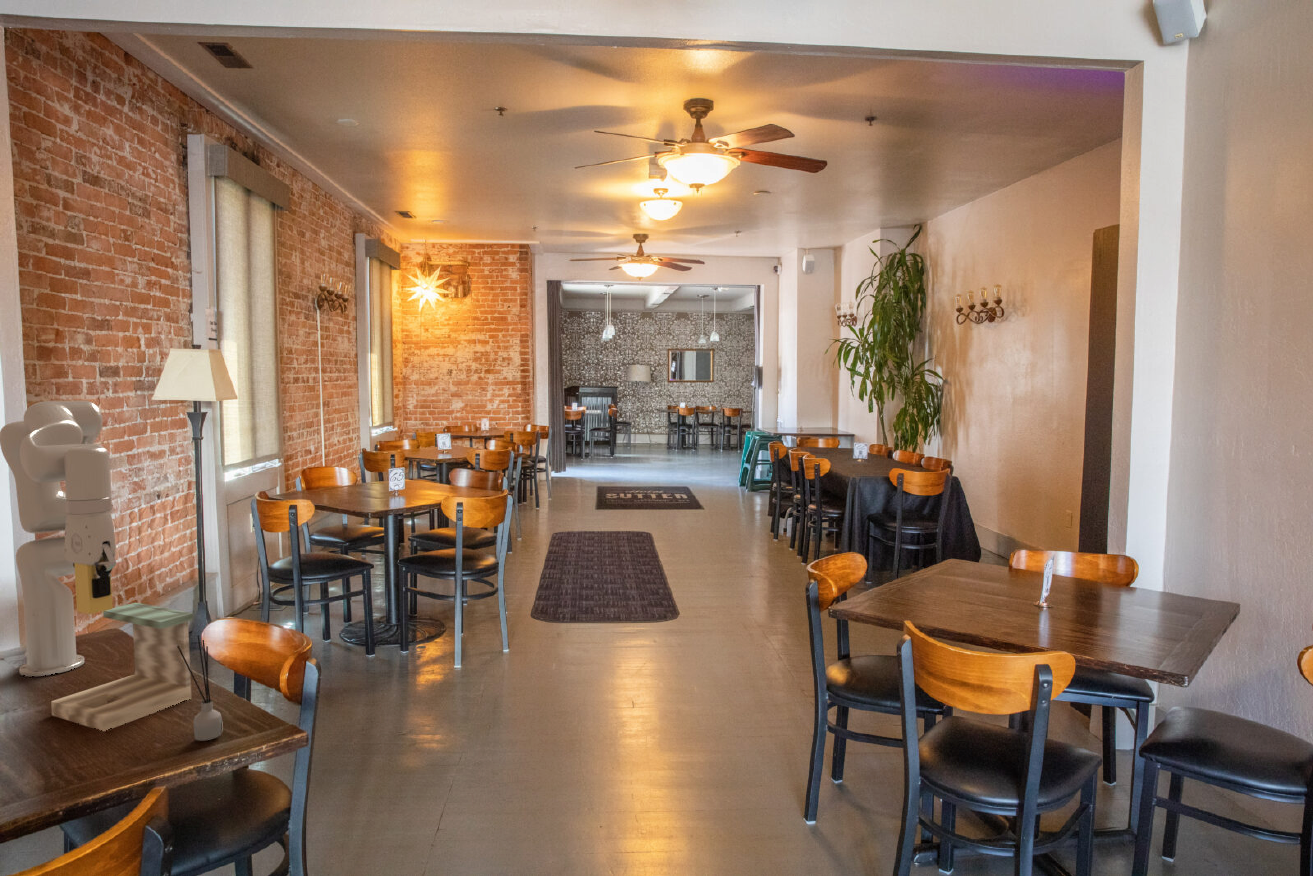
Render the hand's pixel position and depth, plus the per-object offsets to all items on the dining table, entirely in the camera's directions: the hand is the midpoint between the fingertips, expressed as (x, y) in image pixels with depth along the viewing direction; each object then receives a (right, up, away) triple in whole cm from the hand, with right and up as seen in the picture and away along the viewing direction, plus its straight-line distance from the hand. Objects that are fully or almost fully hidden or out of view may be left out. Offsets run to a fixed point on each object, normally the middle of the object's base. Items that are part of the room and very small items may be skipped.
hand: (94, 594), depth 163 cm
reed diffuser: (+28, -26, -10) cm, 40 cm away
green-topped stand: (+2, -25, +6) cm, 26 cm away
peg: (0, -3, 0) cm, 3 cm away
